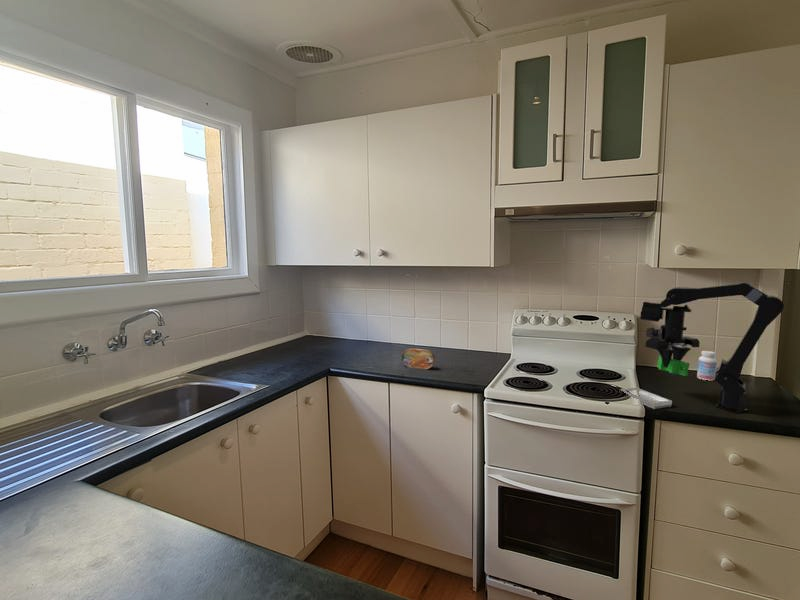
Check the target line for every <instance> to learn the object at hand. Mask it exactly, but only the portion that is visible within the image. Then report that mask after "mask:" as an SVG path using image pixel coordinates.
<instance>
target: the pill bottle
mask: <svg viewBox="0 0 800 600" xmlns="http://www.w3.org/2000/svg"><path fill="white" fill-rule="evenodd" d="M700 354H701V356H700V357H698V365H697V373H696V378H697V379H699V380H701V379H702V381H706V380H708V381H707V382H709V381H710V382H711V381H712V382H714V381H716V375H717V374H716V368H717V361H718V360H717V358H716V352H714V351H711V350H702V351H701V352H700ZM713 380H714V381H713Z"/></svg>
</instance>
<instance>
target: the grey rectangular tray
mask: <svg viewBox="0 0 800 600" xmlns="http://www.w3.org/2000/svg"><path fill="white" fill-rule="evenodd" d="M620 390H621V391H623V392H624V393H626V394H628V395H629V396H631V397H633V398H636V399H639V400H640V401H641V402H642V403H643V404H644V405H643V404H642V405H643V406H646V407H648V408H651V409H653V410H657V409H663V408H670V407H672V404H673V401H672V400H671V399H668V398H666V397H662V396H660V395H658V394H655V393H652V392H650V391H647V390H645V389H641V388H639V387H627V388H620V389H619V391H620ZM633 390H638V391H639V395H640V397H639V396H637V395H634V394H632V393H629V392H627V391H633Z"/></svg>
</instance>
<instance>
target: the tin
mask: <svg viewBox="0 0 800 600" xmlns="http://www.w3.org/2000/svg"><path fill="white" fill-rule="evenodd" d="M401 361H402V364H404V366H406V367H407V368H411V369H418V370H419V369H420V370H429V369H430V368H432V367H433V366H434V365H435V363H436V362H435V361H436V357H435V354H434V353H433V352H432V351H431V350H429V349H420V348H414V347H413V348H412V347H410V348H407V349H404V351H402V354H401Z"/></svg>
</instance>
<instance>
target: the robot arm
mask: <svg viewBox="0 0 800 600" xmlns="http://www.w3.org/2000/svg"><path fill="white" fill-rule="evenodd" d="M734 296H742V297H744V298H746V299H747V300H749V301H750V302H752V303H753V304H755V305H756V306H757V307H756V311H755V313H754V317H753V319H752V322H751V323H750V325H749V327H748V329H747V330H746V332H745V334H744V335H743V337H742V338H741V340H740V342H739V344H737V347H736V349H735V350H734V351H733V354H732V355H731V356H730V358H729V359H728V360H725V359H721V361H720V365H718V367H716V374H715V381H716V383H717V384H719V386H721V388H720V391H719V393H718V401H717V403H718V404H715V408H719V409H721V410H725V411H727V412H731V413H734V414H737V413H745V412H749V408H746V404H747V403H746V402H747V394H748V393H747V392H746V382H744V381H743V380H742V379H741V378H740V377H741V374H742V370H743V367H744V365H745V362H747V360H748V358H749V356H750V354H751V353H752V351H753V350H754V348H755V347H756V344H758V341H759V340H760V338H761V337H762V335H763V334H764V332H765V330H766V328H768V326H769V325H770V324H771V323H772V322H774V320H775V319H776V318H778V316H779V315H780V314H781V313H782V312H783V311H784V308H785V306H784V302H783V301H782V299H781V298H779V297H778V296H776V295H773V294H772V295H770V294H769V295H768V294H767V293H764V292H763V291H761V290H760V289H758V288H756V287H754V286H752V285H751V284H750V283H749V282H746V281H743V282H739V283H732V284H725V285H715V286H707V287H685V286H683V287H681V286H679V287H678V286H677V287H673V288H670V289H669V290H668V291H667V293H666V295H665V299H663V300H662V301H660V302H659V303H658V302H650V301H644V302H642V307H641V311H640V320H641V321H646V322H656V323H660V321H661V320H664V324H661V325H660V329H655V328H654V327H648V328H646V332H645V334H646V337H647V338H648V339H646V340H645V345H644V347H646V348H649V349H652V350H656V351H658V353H659V355H660V356H661V358H662V361H663V365H664V367H666V368H667V367H668V365H669V363H670V360H671V358H672V359H676V360H679V361H682V360H683V359H684V357H685V356H686V354H688V352H689V351H691V348H700V340H699V338H694V337H690V336H686V335H685V336H684V331H687V326H686V327H685V326H684V325H685V316H686V315H685V314H686V313H692V311H693V310H692V309H691V308H690V307H689V305H688V304H687V303H691V302H694V301H698V300H705V299H715V298H725V297H734ZM683 304H685V305H683ZM671 305H673V307H669V306H671ZM679 305H680V306H679ZM682 305H683V306H682ZM664 314H665V316H664ZM688 345H689V346H691V347H688Z"/></svg>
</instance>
